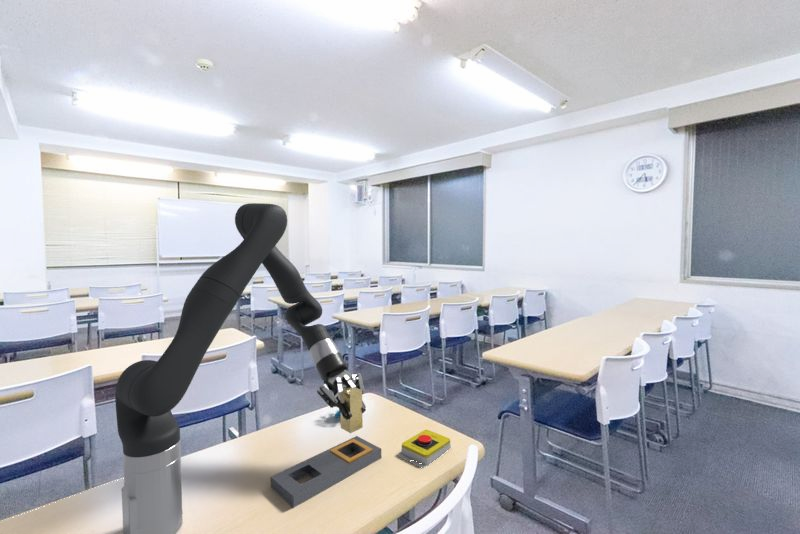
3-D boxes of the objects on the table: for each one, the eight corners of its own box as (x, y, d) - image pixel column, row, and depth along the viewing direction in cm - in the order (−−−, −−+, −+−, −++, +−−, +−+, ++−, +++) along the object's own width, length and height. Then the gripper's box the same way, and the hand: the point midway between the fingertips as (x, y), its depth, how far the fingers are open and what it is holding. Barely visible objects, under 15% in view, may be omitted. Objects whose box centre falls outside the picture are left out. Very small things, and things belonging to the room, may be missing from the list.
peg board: (293, 507, 79) (293, 494, 79) (270, 487, 86) (270, 475, 86) (381, 457, 98) (381, 447, 98) (356, 444, 105) (356, 434, 105)
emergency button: (396, 441, 99) (430, 422, 110) (396, 457, 99) (430, 436, 110) (423, 453, 93) (456, 432, 104) (423, 470, 93) (456, 447, 104)
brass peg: (350, 433, 94) (350, 394, 93) (340, 428, 97) (340, 390, 96) (362, 427, 97) (362, 390, 96) (352, 422, 100) (352, 386, 99)
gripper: (310, 357, 96) (340, 417, 88) (353, 346, 106) (383, 399, 98) (300, 372, 100) (327, 432, 92) (342, 360, 110) (370, 413, 102)
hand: (356, 414), depth 95 cm, fingers closed on brass peg, 4 cm apart
